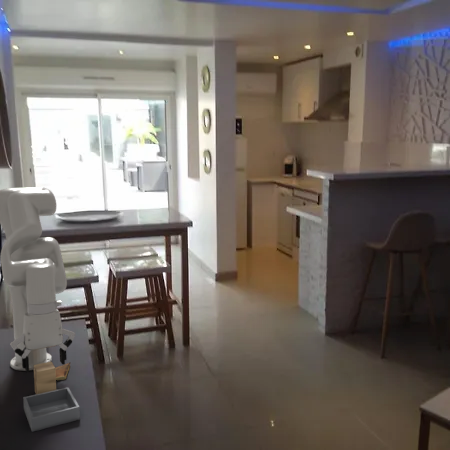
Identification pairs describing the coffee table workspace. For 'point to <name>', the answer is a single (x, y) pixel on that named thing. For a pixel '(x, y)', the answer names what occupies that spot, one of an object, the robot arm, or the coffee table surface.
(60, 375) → the shard
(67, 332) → the robot arm
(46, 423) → the tray
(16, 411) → the coffee table surface
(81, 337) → the coffee table surface
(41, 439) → the coffee table surface
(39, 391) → the oak block
